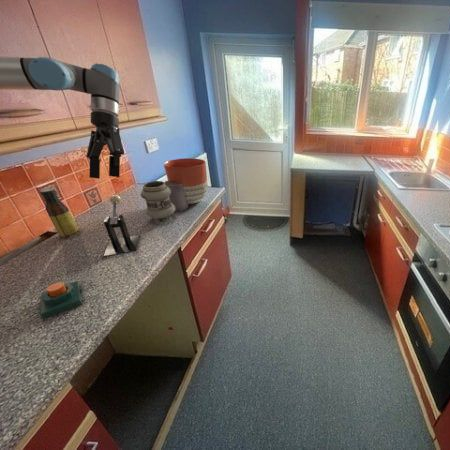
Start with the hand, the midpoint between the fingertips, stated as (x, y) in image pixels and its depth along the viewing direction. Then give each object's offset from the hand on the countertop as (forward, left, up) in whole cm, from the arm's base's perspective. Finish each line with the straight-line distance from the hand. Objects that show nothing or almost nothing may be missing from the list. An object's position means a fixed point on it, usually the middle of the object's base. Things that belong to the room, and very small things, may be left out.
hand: (104, 177), depth 85 cm
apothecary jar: (-12, +17, -27) cm, 34 cm away
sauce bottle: (-20, -16, -27) cm, 37 cm away
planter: (-26, +35, -27) cm, 51 cm away
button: (+24, -19, -23) cm, 39 cm away
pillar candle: (-22, +27, -27) cm, 44 cm away
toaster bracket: (+3, -1, -27) cm, 27 cm away
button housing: (+24, -19, -27) cm, 41 cm away
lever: (-3, 0, -15) cm, 15 cm away
